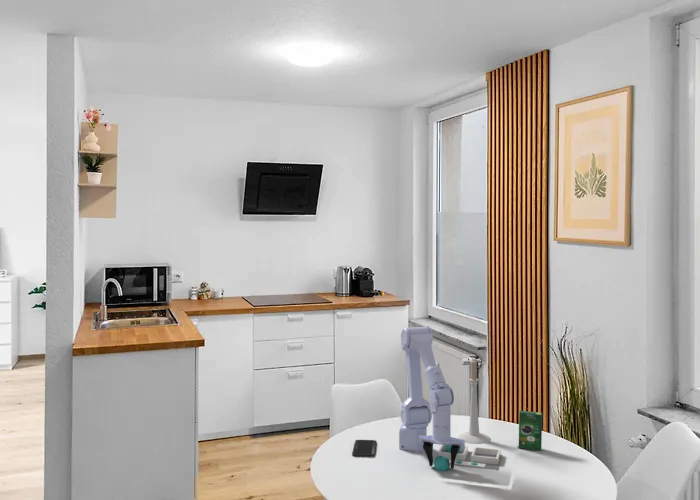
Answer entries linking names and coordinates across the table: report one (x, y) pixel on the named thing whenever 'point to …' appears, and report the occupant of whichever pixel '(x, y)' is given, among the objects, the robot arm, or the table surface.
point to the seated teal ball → (450, 448)
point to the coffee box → (530, 430)
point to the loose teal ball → (441, 463)
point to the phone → (364, 448)
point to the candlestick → (474, 414)
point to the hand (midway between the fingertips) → (441, 466)
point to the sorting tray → (475, 457)
